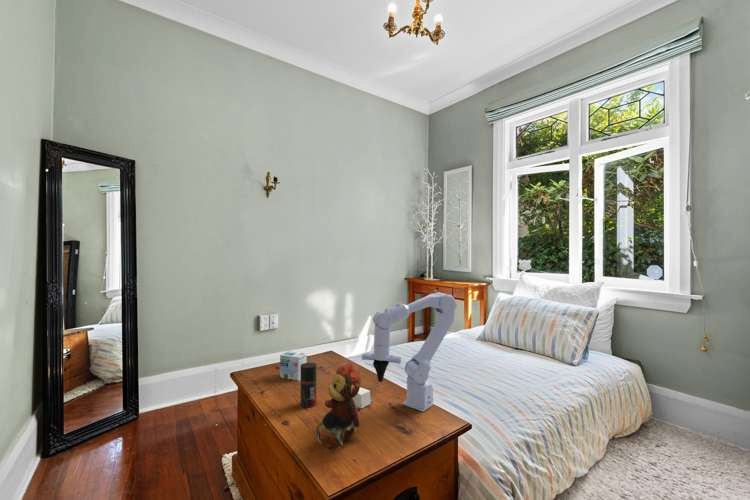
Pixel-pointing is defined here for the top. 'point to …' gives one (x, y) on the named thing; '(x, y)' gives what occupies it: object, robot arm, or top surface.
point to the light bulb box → (292, 365)
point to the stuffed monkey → (342, 402)
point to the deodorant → (308, 385)
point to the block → (362, 398)
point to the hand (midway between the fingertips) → (380, 380)
